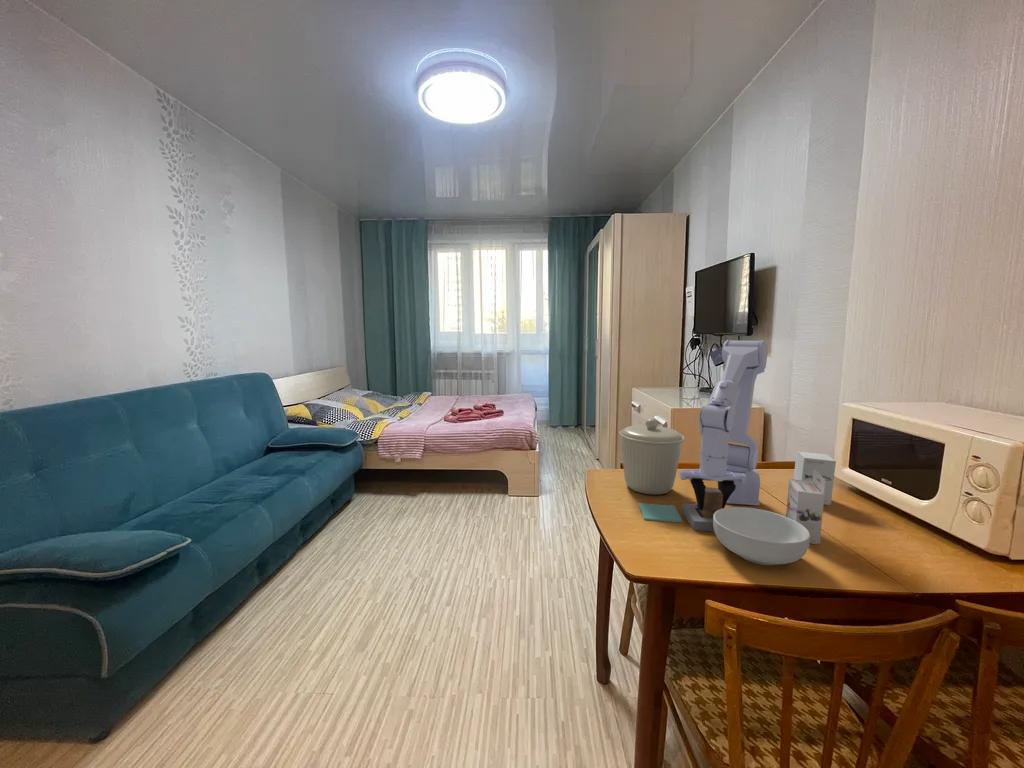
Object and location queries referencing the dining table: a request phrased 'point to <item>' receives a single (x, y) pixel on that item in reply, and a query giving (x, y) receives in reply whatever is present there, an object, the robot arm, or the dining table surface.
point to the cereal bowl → (761, 535)
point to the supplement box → (821, 465)
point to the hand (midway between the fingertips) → (710, 509)
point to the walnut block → (711, 502)
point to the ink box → (807, 504)
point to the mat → (660, 512)
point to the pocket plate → (697, 518)
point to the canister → (650, 457)
